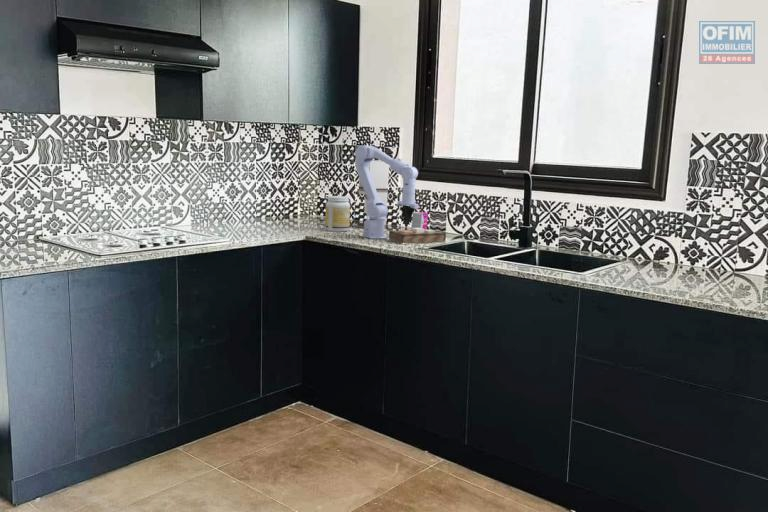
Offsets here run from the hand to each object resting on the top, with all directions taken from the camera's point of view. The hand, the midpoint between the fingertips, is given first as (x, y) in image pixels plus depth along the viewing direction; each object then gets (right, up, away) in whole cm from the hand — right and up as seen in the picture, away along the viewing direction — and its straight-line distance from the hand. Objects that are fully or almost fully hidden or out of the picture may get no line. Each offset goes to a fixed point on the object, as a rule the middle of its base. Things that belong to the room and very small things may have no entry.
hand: (406, 222), depth 319 cm
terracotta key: (0, -7, +1) cm, 7 cm away
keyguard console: (+5, -9, +5) cm, 11 cm away
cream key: (+5, -6, +4) cm, 9 cm away
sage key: (+11, -7, +8) cm, 15 cm away
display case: (-17, -1, +42) cm, 45 cm away
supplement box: (+7, -5, +25) cm, 26 cm away
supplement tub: (-34, -3, +26) cm, 43 cm away
